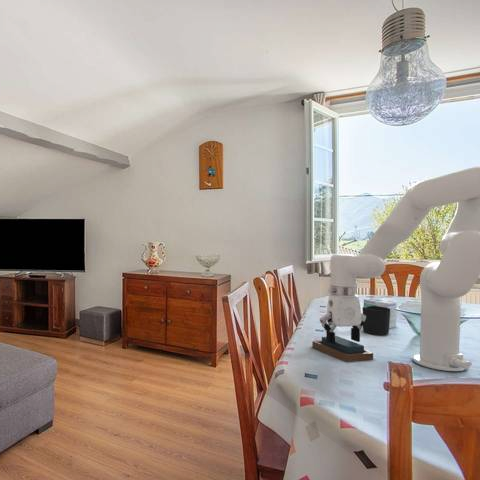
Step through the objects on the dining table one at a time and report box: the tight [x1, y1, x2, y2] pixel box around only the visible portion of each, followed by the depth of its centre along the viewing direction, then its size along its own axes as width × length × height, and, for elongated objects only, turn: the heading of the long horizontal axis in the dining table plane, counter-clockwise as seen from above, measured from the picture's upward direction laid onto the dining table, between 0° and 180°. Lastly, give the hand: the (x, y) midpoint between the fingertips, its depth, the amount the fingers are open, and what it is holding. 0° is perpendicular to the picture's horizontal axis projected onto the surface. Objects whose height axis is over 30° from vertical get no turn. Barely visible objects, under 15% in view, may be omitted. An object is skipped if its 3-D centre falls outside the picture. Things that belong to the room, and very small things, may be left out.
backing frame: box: [311, 340, 374, 363], centre depth 135 cm, size 16×10×2 cm, turn 13°
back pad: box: [321, 335, 365, 354], centre depth 135 cm, size 12×6×4 cm, turn 13°
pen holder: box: [361, 306, 390, 336], centre depth 160 cm, size 9×9×10 cm
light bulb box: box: [362, 297, 398, 329], centre depth 173 cm, size 11×7×11 cm, turn 25°
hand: (343, 341), depth 134 cm, fingers open, 9 cm apart
